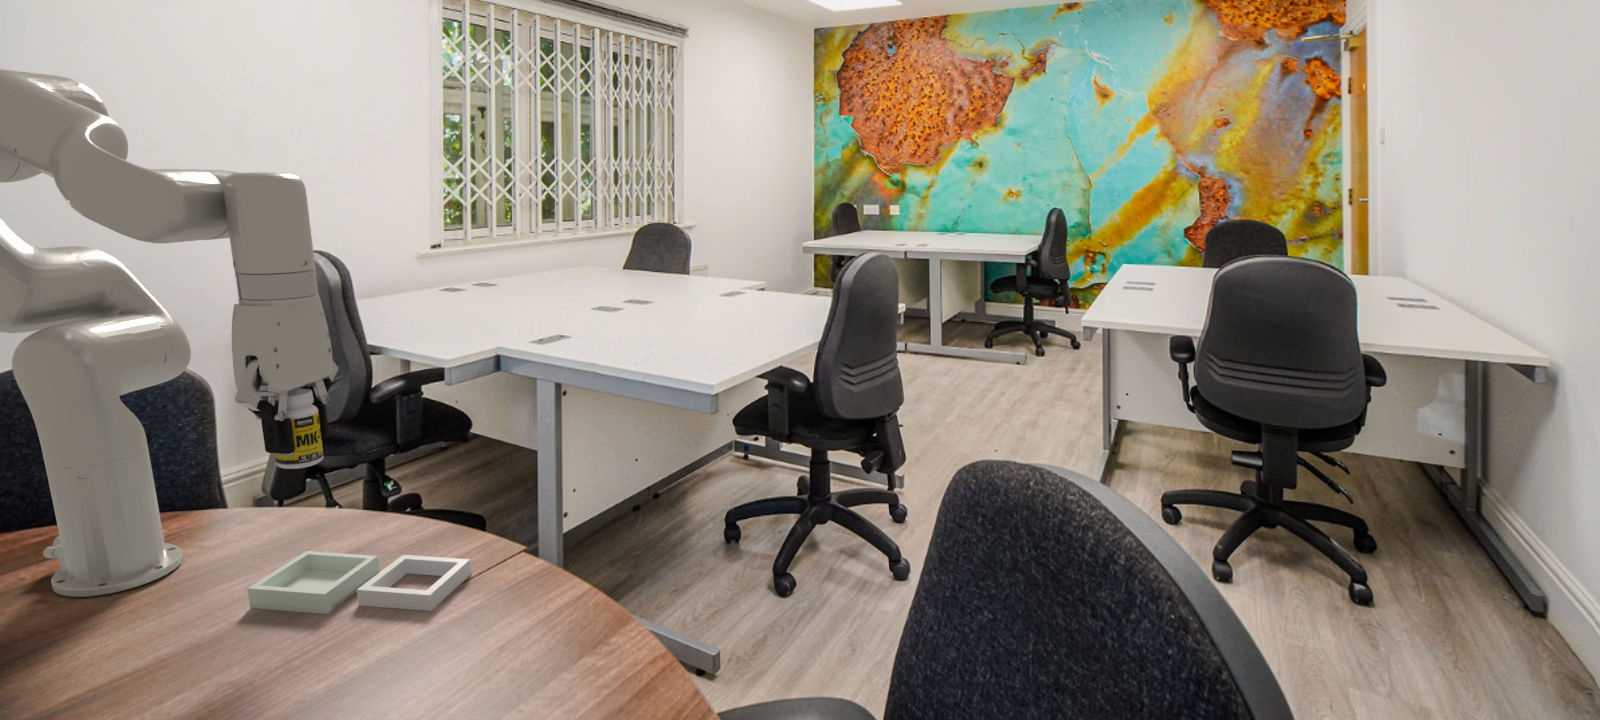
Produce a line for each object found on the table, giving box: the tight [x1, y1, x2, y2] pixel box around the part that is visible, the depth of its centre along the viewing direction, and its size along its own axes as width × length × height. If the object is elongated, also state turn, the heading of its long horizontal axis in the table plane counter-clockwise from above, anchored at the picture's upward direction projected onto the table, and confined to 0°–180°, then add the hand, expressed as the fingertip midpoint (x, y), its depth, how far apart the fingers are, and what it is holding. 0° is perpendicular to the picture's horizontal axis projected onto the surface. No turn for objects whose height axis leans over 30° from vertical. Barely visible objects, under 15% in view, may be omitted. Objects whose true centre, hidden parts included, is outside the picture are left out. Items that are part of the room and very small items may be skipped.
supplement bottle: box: [271, 389, 325, 470], centre depth 94 cm, size 5×5×8 cm
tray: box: [247, 550, 381, 615], centre depth 98 cm, size 10×10×2 cm
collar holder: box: [356, 554, 472, 612], centre depth 99 cm, size 9×9×2 cm
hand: (298, 443), depth 94 cm, fingers closed on supplement bottle, 4 cm apart
